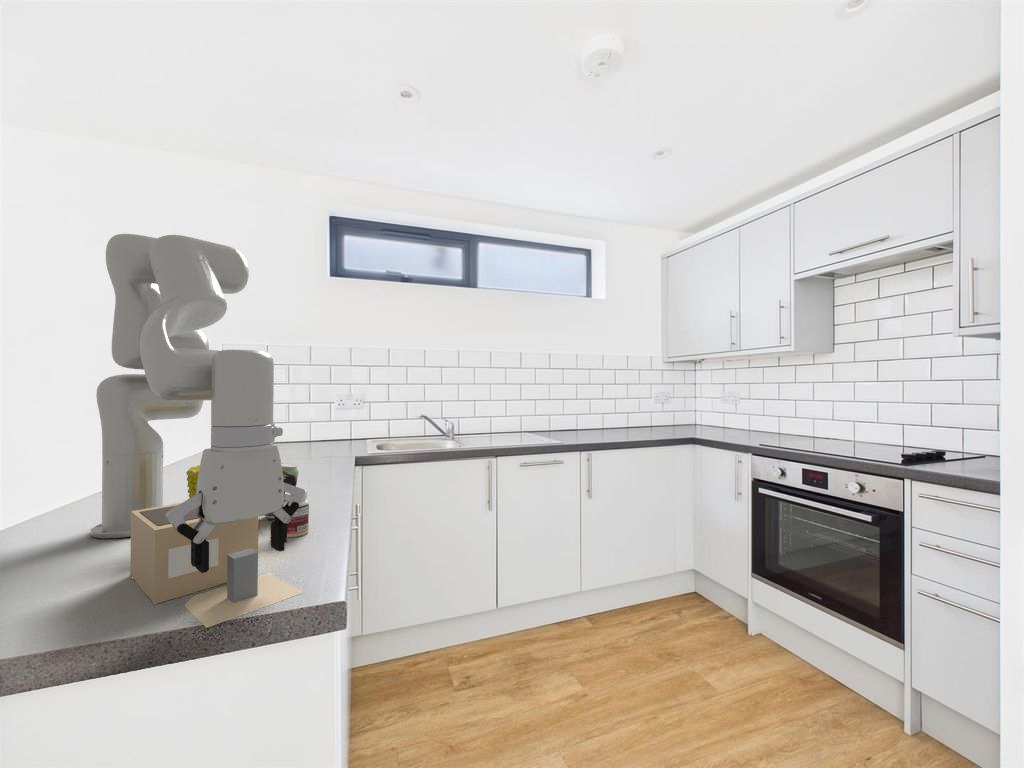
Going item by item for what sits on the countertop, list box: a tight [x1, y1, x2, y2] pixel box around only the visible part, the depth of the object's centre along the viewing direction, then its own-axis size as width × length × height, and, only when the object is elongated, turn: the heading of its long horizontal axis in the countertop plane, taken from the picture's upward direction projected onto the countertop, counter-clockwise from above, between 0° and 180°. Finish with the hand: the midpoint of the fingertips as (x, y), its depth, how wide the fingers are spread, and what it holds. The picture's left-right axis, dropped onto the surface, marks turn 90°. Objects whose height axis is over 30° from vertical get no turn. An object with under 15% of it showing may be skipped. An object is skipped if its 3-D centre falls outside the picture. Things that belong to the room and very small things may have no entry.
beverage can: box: [264, 462, 299, 519], centre depth 100 cm, size 6×7×12 cm
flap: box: [184, 549, 304, 629], centre depth 63 cm, size 11×12×6 cm
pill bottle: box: [282, 489, 310, 538], centre depth 89 cm, size 5×5×8 cm
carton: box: [129, 502, 259, 605], centre depth 70 cm, size 14×13×10 cm
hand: (241, 558), depth 63 cm, fingers open, 9 cm apart
